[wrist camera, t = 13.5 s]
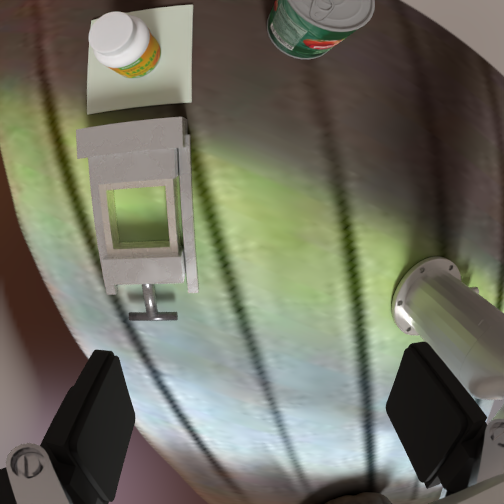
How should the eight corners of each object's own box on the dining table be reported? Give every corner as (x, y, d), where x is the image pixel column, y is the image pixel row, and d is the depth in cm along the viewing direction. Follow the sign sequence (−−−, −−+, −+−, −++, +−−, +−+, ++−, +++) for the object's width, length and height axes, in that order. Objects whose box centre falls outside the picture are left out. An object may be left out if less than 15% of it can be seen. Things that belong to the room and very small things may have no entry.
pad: (193, 5, 27) (192, 4, 27) (191, 102, 31) (191, 101, 31) (92, 21, 26) (91, 20, 26) (88, 114, 30) (87, 114, 30)
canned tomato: (284, -10, 27) (307, -56, 17) (344, 21, 29) (386, -12, 18) (254, 40, 29) (267, 1, 19) (318, 72, 31) (356, 48, 21)
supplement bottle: (135, 89, 29) (105, 73, 20) (106, 60, 28) (69, 38, 19) (172, 54, 29) (154, 26, 19) (141, 27, 27) (116, -6, 18)
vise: (190, 119, 32) (185, 116, 27) (201, 311, 39) (198, 331, 35) (90, 130, 31) (73, 130, 27) (114, 312, 39) (104, 331, 34)
